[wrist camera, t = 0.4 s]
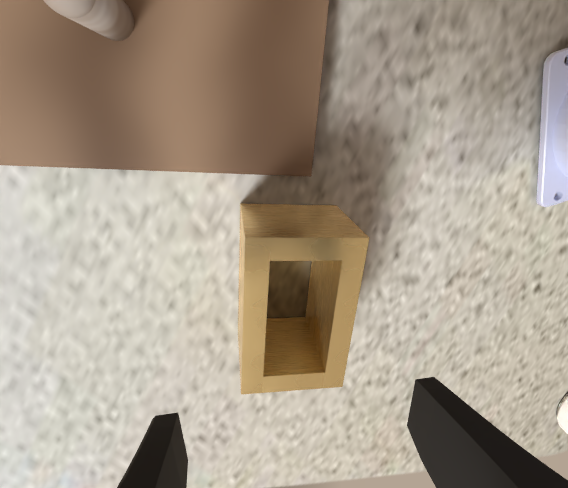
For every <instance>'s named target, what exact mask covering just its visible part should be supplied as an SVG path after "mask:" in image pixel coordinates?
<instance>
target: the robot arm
mask: <svg viewBox="0 0 568 488" xmlns="http://www.w3.org/2000/svg"><path fill="white" fill-rule="evenodd" d="M566 56H567V61H566V63H564V60H565V58H566ZM555 194H556V195H555ZM554 196H555V197H554ZM567 200H568V48H565V49H562V50H559V51H556V52H553V53H551V54H550V55H549V56H548V57H547V58H546V60H545V62H544V68H543V87H542V106H541V125H540V145H539V164H538V183H537V203H538V205H541V206H544V207H549V206H552V205H555V204H558V203H561V202H564V201H567ZM407 426H408V429H409V431H410V434H411V436H412V439H413V441H414V444H415V446H416V448H417V451H418V453H419V455H420V458H421V460H422V462H423V464H424V466H425V468H426V470H427V472H428V473H429V475H430V477H431V479H432V481H433V483H434V484H435V486H436V488H568V480H566V479H565V478H563V477H562V476H561V475H559V474H558V473H556V472H555V471H553V470H552V469H551V468H549V467H548V466H546V465H545V464H544V463H542V462H541V461H539V460H538V459H537V458H535V457H534V456H533V455H531V454H530V453H529V452H527V451H526V450H525V449H523V448H522V447H521V446H519V445H518V444H517V443H515V442H514V441H513V440H511V439H510V438H509V437H507V436H506V435H505V434H504V433H502V432H501V431H500V430H499V429H497V428H496V427H495V426H493V425H492V424H491V423H490V422H488V421H487V420H486V419H485V418H483V417H482V416H481V415H480V414H479V413H477V412H476V411H475V410H474V409H472V408H471V407H470V406H469V405H467V404H466V403H465V402H464V401H463V400H461V399H460V398H459V397H458V396H457V395H455V394H454V393H453V392H452V391H451V390H449V389H448V388H447V387H446V386H444V385H443V384H442V383H441V382H439V381H438V380H437V379H436V378H434V377H430V378H423V379H416V380H415V386H414V391H413V396H412V402H411V407H410V412H409V418H408V423H407ZM187 467H188V458H187V453H186V448H185V444H184V439H183V434H182V429H181V424H180V420H179V415H178V413H172V414H165V415H158V416H155V417H154V418H153V419H152V421H151V424H150V426H149V428H148V430H147V432H146V434H145V436H144V438H143V440H142V442H141V444H140V446H139V448H138V450H137V452H136V454H135V456H134V458H133V460H132V462H131V463H130V465H129V467H128V469H127V471H126V473H125V475H124V476H123V478H122V480H121V482H120V483H119V485H118V487H117V488H186V484H187Z"/></svg>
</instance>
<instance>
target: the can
mask: <svg viewBox="0 0 568 488" xmlns="http://www.w3.org/2000/svg"><path fill="white" fill-rule="evenodd" d="M556 414H557V420H558V423H559V425H560V427H561V428H562V429H563V430H564V431H565V432H566V433H567V434H568V393H567V394H566V395H565V396H564V397H563V399H562V400H561V402H560V404H559V406H558V408H557V412H556Z"/></svg>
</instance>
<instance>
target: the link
mask: <svg viewBox="0 0 568 488" xmlns="http://www.w3.org/2000/svg"><path fill="white" fill-rule="evenodd" d="M368 243H369V237H368V236H367V235H366V234H365V233H364V232H363V231H362V230H361V229H360V228H359V227H358V226H357V225H356V224H355V223H354V222H353V221H352V220H350V219H349V218H348V217H347V216H346V215H345V214H344V213H343V212H342V211H341V210H340V209H339V208H338V207H337V206H336V205H290V204H243V203H240V257H239V311H238V342H239V362H240V381H241V394H252V393H265V392H279V391H292V390H305V389H319V388H332V387H342V386H343V380H344V375H345V369H346V364H347V358H348V353H349V347H350V342H351V336H352V331H353V325H354V320H355V314H356V309H357V303H358V298H359V292H360V287H361V281H362V276H363V270H364V265H365V259H366V254H367V248H368ZM270 261H312V262H311V271H310V280H309V289H308V298H307V307H306V315H305V317H293V318H267V302H268V285H269V268H270Z"/></svg>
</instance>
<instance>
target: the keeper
mask: <svg viewBox="0 0 568 488" xmlns="http://www.w3.org/2000/svg"><path fill="white" fill-rule="evenodd" d="M328 6H329V0H0V165H13V166H41V167H68V168H96V169H123V170H150V171H178V172H205V173H233V174H260V175H287V176H311V174H312V164H313V154H314V145H315V135H316V125H317V115H318V105H319V95H320V85H321V75H322V65H323V55H324V45H325V35H326V25H327V15H328Z"/></svg>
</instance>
